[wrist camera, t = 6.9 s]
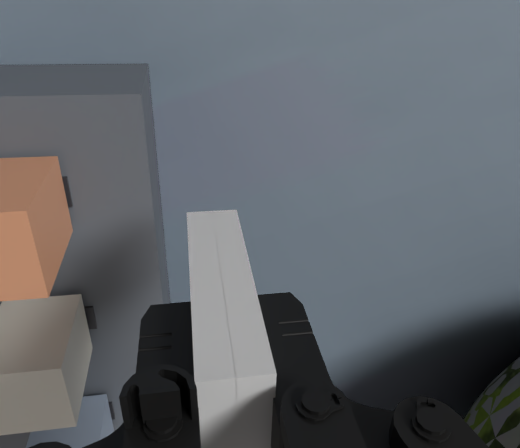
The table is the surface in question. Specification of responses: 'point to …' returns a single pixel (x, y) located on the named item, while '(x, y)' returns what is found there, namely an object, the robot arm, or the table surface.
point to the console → (96, 200)
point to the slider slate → (81, 425)
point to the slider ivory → (42, 363)
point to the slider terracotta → (31, 226)
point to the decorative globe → (498, 410)
